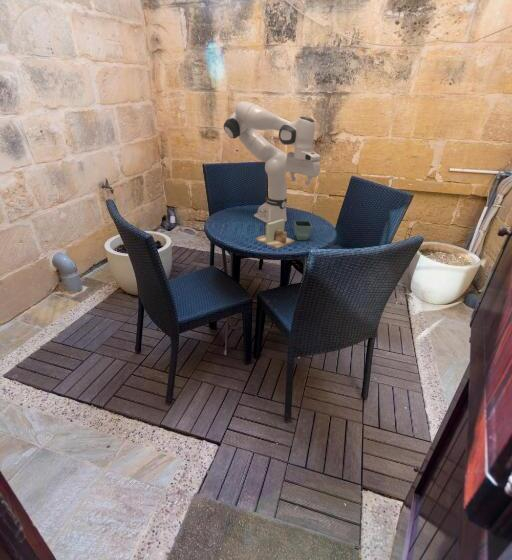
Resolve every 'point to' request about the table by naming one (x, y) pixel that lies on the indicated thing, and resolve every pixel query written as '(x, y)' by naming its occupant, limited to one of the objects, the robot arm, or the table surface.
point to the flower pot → (302, 229)
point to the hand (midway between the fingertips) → (300, 182)
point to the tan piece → (277, 239)
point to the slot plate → (274, 229)
